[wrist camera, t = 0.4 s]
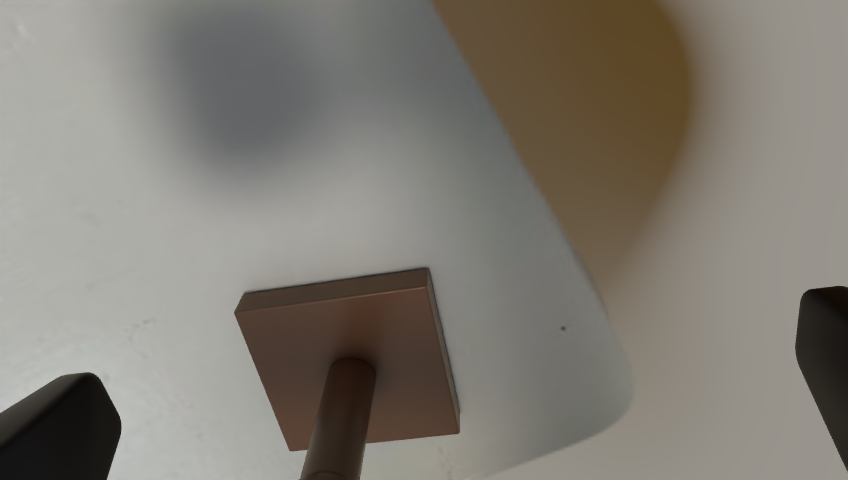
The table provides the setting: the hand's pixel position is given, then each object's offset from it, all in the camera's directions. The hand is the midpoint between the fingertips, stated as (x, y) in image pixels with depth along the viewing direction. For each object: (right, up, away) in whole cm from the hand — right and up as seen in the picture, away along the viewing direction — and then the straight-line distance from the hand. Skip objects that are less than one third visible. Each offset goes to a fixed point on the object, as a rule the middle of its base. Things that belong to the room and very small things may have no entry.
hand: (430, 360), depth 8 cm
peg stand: (-3, -3, +17) cm, 18 cm away
